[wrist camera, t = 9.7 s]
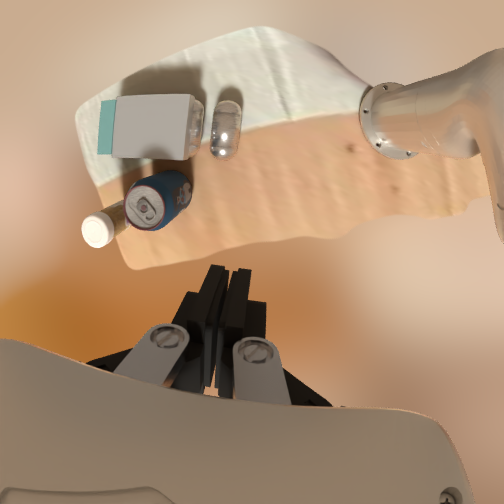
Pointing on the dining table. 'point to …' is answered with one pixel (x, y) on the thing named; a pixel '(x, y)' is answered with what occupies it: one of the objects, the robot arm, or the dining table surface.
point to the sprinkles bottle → (104, 225)
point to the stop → (106, 127)
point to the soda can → (157, 200)
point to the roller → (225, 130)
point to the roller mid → (196, 128)
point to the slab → (153, 126)
